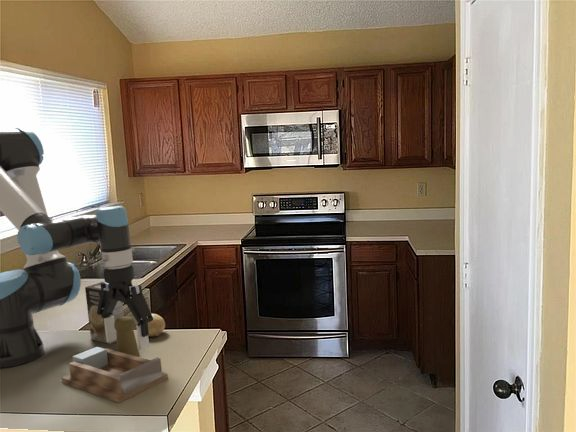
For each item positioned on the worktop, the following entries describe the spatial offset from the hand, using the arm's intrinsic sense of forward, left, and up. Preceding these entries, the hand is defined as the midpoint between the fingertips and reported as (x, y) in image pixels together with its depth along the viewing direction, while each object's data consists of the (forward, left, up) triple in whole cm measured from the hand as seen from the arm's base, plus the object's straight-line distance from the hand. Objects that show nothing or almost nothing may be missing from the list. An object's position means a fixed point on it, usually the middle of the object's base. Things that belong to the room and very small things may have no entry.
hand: (127, 344), depth 145 cm
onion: (-8, +15, -4) cm, 18 cm away
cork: (0, 0, -4) cm, 4 cm away
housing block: (0, -11, -2) cm, 11 cm away
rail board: (+9, -11, -4) cm, 14 cm away
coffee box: (-18, +7, -4) cm, 20 cm away
